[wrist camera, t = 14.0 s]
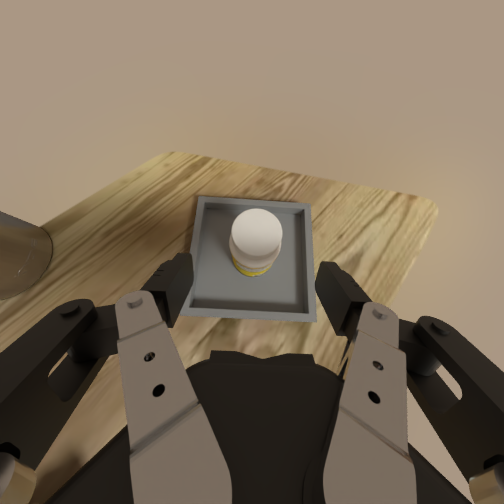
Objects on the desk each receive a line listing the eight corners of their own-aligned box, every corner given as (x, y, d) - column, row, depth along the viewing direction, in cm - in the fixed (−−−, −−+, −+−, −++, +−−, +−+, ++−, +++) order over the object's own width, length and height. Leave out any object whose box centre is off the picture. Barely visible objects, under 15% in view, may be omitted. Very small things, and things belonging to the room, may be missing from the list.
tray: (185, 314, 20) (179, 315, 18) (202, 204, 24) (198, 196, 22) (310, 321, 21) (316, 322, 19) (305, 211, 25) (310, 203, 23)
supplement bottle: (241, 234, 23) (240, 195, 15) (277, 248, 22) (295, 214, 14) (226, 269, 21) (216, 247, 13) (264, 284, 21) (276, 270, 13)
